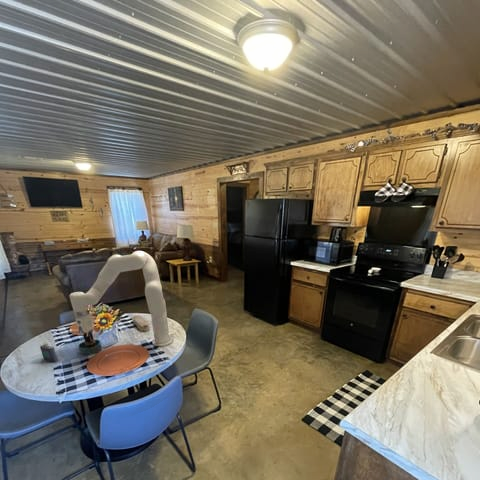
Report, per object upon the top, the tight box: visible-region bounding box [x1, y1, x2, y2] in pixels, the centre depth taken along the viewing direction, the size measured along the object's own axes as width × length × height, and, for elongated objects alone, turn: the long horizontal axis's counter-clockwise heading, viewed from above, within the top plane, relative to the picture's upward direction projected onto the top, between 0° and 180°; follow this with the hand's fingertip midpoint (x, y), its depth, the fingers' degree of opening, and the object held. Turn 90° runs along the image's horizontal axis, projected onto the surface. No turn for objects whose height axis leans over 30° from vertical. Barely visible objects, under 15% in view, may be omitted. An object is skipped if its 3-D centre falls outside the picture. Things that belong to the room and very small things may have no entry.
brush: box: [84, 332, 96, 348], centre depth 161 cm, size 6×6×10 cm
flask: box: [39, 343, 58, 363], centre depth 151 cm, size 9×3×11 cm, turn 74°
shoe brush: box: [131, 315, 150, 332], centre depth 197 cm, size 24×8×5 cm, turn 37°
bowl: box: [77, 339, 103, 356], centre depth 163 cm, size 12×12×4 cm
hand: (89, 340), depth 161 cm, fingers closed on brush, 2 cm apart
